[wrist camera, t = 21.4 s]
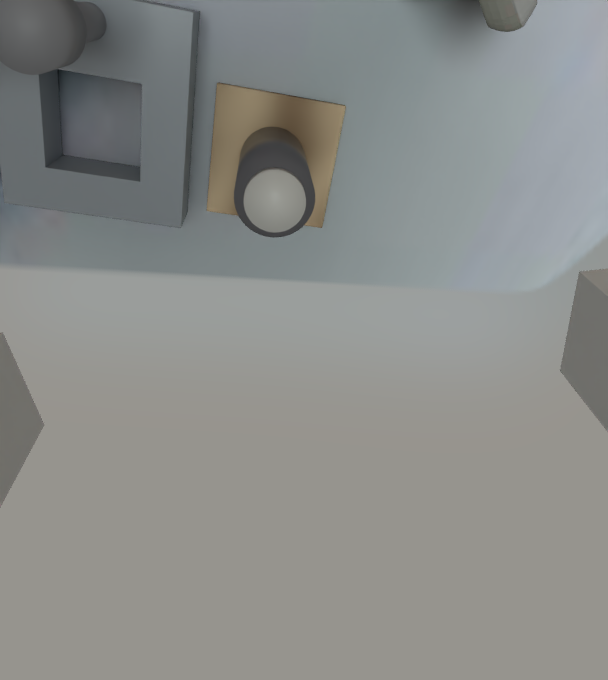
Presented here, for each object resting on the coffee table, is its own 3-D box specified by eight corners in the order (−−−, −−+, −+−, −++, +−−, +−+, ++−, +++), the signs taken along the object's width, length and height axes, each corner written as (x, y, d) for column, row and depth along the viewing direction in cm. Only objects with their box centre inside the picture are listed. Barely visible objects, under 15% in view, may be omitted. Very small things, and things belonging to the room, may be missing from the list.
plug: (236, 188, 41) (228, 235, 32) (244, 120, 38) (238, 153, 30) (299, 198, 42) (308, 247, 33) (310, 133, 39) (323, 167, 31)
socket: (24, 188, 41) (-43, 239, 32) (3, -27, 34) (-89, -37, 25) (187, 212, 42) (165, 266, 34) (199, 11, 35) (176, 14, 27)
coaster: (207, 208, 42) (206, 210, 42) (217, 82, 38) (216, 83, 37) (321, 225, 43) (322, 227, 43) (345, 105, 39) (345, 106, 38)
